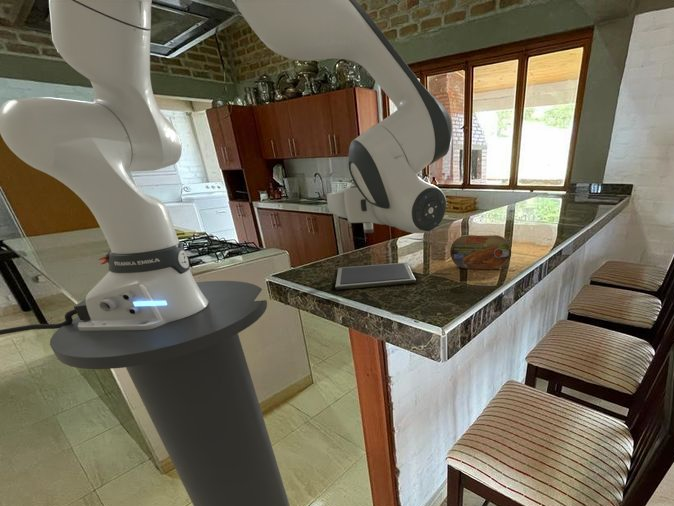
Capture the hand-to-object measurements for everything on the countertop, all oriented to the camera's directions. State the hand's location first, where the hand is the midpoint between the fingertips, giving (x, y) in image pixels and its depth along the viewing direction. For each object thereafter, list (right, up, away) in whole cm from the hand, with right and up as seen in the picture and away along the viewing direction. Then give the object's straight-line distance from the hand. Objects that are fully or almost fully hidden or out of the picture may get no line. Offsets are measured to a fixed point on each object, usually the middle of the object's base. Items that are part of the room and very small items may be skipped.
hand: (363, 196), depth 77 cm
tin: (+28, -15, +9) cm, 34 cm away
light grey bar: (+1, -8, +3) cm, 8 cm away
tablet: (+2, -18, +5) cm, 19 cm away
